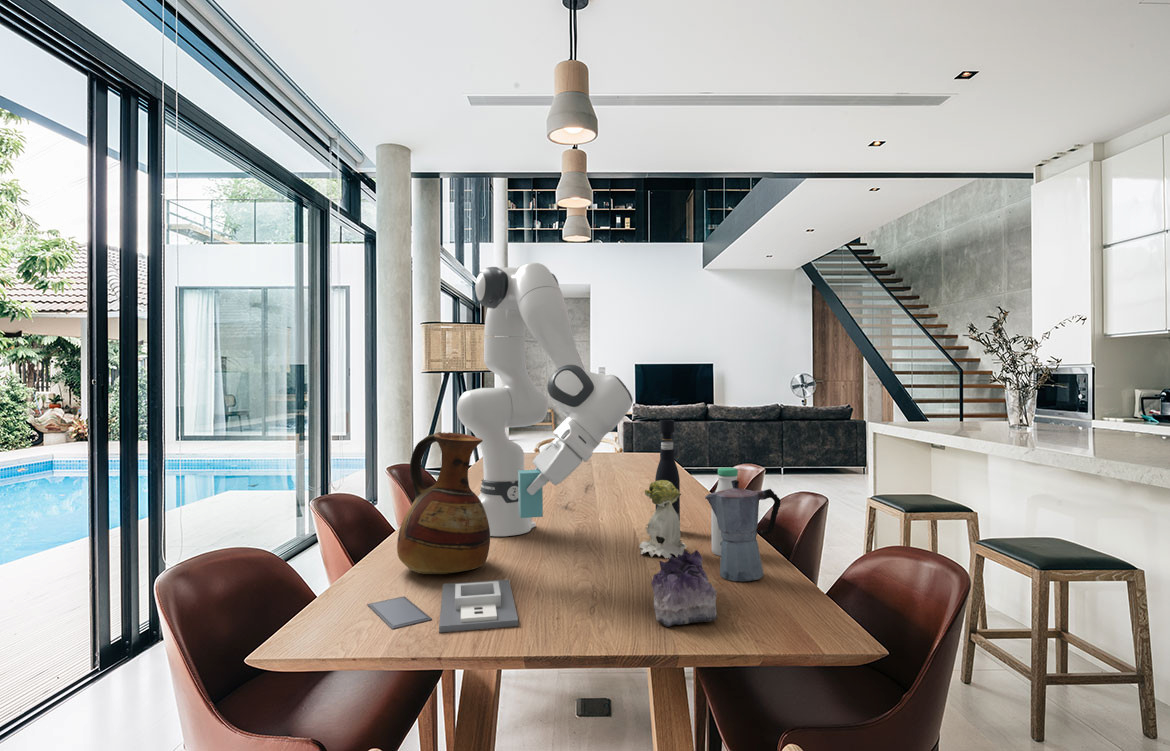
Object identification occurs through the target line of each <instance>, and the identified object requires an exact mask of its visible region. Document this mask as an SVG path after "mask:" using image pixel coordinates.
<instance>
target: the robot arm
mask: <svg viewBox="0 0 1170 751" xmlns="http://www.w3.org/2000/svg"><path fill="white" fill-rule="evenodd" d="M474 284H475V287H474V289H475V296H476V300H477V301H478V302H479V304H480V305H481V306H482V307H485V308H487V309H486V313H485V321H484V331H483V332H484V334H483V335H484V336H483V362H484V365H485V367H486V369H488V370H489V371H490V372H492V373H493V374H496V375H497V376H499V377H500V381H501V384H502V387H479V388H475V389H470V390H467V391H464V392H463V393H462V394H461V395H460V396H459V399H458V401H457V404H456V413H457V418H458V420H459V421H460V423H461V424H462V425H463V426H464V427H466V428H467V429H468V430H469V431H470V432H472V433H473V434H472V435H474V437H477V438H479V439H482V440H483V441H482V442H481V443H480V444H479V446H480V449H481V453H482V462H483V464H482V466H483V468H482V469H483V478H482V479H481V483H480V494H478V495H477V497H478V498H479V499H480V501H481V503H482V505H483V507H484V509H485V512H486V515H487V519H488V523H489V528H490V537H509V536H510V537H511V536H517V535H523V534H526V533H529V532H530V531H531V530H532V529H533V528H535V527H536V521H533V520H532V519H533V517H531V518H520V515H519V503H518V470H525V453H524V450H523V448H522V447H521V446H520V445H519V444H518V443H516V442H515V441H513V440H511V439H509V438H508V436H507V434H506V428H521V427H522V428H524V427H529V426H533V425H537V424H540V423H542V422H543V421H544V419H545V418H546V416H547V414H548V411H549V409H548V408H549V403H548V399H547V397H546V395H545V394H544V392H543V391H542V390H541V389H539V388H538V387H537V386H536V385H535V383H534V382H533V380H532V379H531V377H530V375H529V371H528V368H527V365H526V364H527V363H526V328H527V330H528V331H529V333H530V334H531V335H532V336H533V337H534V339H535V340H536V341H537V343H538V344H539V345H540V346H541V347H542V349H543V350H544V351H545V352H546V354H547V355H548V357H549V358H550V359H551V361H552V363H553V365H554V367H555V369H556V370H554V371H553V373H552V374H551V375H550V377H549V378H548V381H547V386H546V389H547V392H548V395H549V397H550V399H551V400H552V402H553V403H554V404H555V406H556V407H557V408H558V409H559V410H558V411H560V412H561V413H562V415H563V416H564V417H565V418H564V420H563V421H562V422H561V423H560V424H559V425H558V426H557V427H556V428H555V429H554V430H553V431H552V434H553V435H554V436H555V438H554V439H553V440H551V442H549V443H548V445H546V446H545V447H544V448H543V449H542V450H541V451H540V452H539V453H538V454H537V455H536V456H535V457H534V459H533V460H532V464H533V465H534V466H535V468H533V470H540V472H541V473H540V474H539V475H538V477H537V478H536V479H535V480H534V481H533V482H532V483H530V484H529V486H528V487H527V488H526V490H527V492H529V493H530V494H531V495H534V494H535V493H536V492H537V491H538V490H539V489H540V488H542V489H543V487H545V486H546V485H547V484H548V483H549V482H550V483H551V484H552V485H554V486H557V485H559V484H560V483H563V482H564V481H565V479H566V478H568V477H569V476H570V475H571V474H572V473H574V471H575V470H576V469H577V468H578V467H579V466H580V465H581V464H582V463H583V462H584V463H585V462H588V461H589V460H590V458H592V456H593V452H594V450H596V448H597V447H598V446H600V443H601V442H602V440H603V438H604V437H605V436H606V435H607V434H608V433H611V432H612V431H613V430H614V429H615V428H616V427H617V426H618V424H620V422H621V421H622V420H623V419H624V418H625V416H626V415H627V413H629V411H630V409H631V407H632V405H633V403H634V402H633V396H632V394H631V392H630V390H629V389H628V388H627V386H626V385H625V384H624V383H623V381H622V380H621V379H620V378H619V377H618V376H616V375H614V374H607V375H606V374H599V373H596V372H595V373H594V372H592V371H589V370H587V369H585V367H584V364H583V362H582V359H581V358H580V354H579V351H578V350H577V346H576V340H575V337H574V334H573V330H572V326H571V321H570V316H569V315H570V314H569V311H568V308H567V307H568V306H567V305H566V301H565V298H564V295H563V292H562V290H561V288H560V285H559V282H558V279H557V277H556V276H555V274H554V273H552V272H551V270H549V268H548V267H547V266H545V265H544V264H543V263H539V262H529V263H526V264H524V265H522V266H519V267H507V266H506V267H497V266H488V267H484V268H482V269H481V271H479V272H478V274H477V277H476V279H475V283H474Z"/></svg>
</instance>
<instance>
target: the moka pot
mask: <svg viewBox="0 0 1170 751" xmlns="http://www.w3.org/2000/svg"><path fill="white" fill-rule="evenodd" d="M731 483H732V486H733V488H731V489H726V490H722V491H718V492H715V491H714V492H711V493H708V494H707V495H705V496H704V499H705V500H707V502H708V504H709V505H710V507H711V508H712V509H713V511H714V513H715V515H716V517H717V522H718V527H719V530H721V537H722V541H721V542H720V545H721V556H720V564H719V565H720V566H719V576H720V577H721V578H722V579H725V580H728V581H731V582H752V581H757V580H760V579H762V578H763V577H764V568H763V563H762V558H761V554H760V548H759V543H758V540H757V535H758V531H757V528H759V527H758V526H759V525H758V523H759V510H760V508H759V507H760V501H764V500H767V499H772V500H773V505H772V510H771V514H770V517H769V518H770V519H769V523H768V527H767V529H764V530H760V531H759V532H760V534H761V536H764V535H765V536H767V535H771V534H773V532H774V527H775V524H776V522H777V521H776V519H777V516H778V513H779V510H780V507H781V503H782V502H781V498H779V497H778V495H777V494H776V493H775V492H774V491H773V490H772V489H771V488H767V489H764V490H763V489H762V490H751V489H745V488H740V487H739V483H740V481H739V480H733V481H731Z"/></svg>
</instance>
